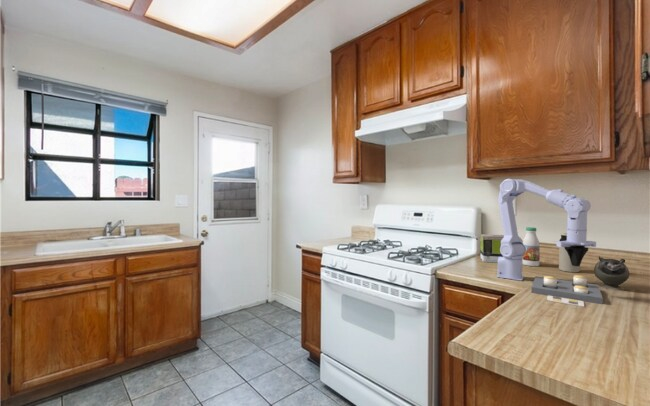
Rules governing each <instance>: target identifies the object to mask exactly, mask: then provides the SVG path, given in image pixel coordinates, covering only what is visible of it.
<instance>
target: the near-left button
mask: <svg viewBox="0 0 650 406" xmlns="http://www.w3.org/2000/svg"><path fill="white" fill-rule="evenodd" d="M543 277H544V286H546V287H552V288H555V287H557V279H558V278H557V277H555V276H552V275H544V276H543ZM556 278H557V279H556Z"/></svg>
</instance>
